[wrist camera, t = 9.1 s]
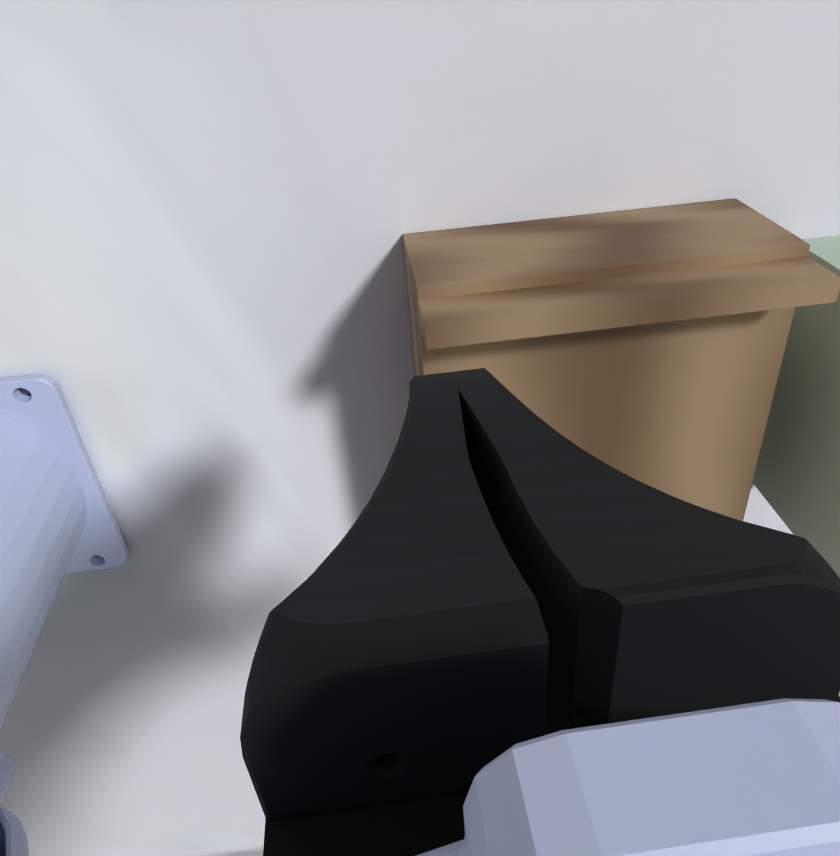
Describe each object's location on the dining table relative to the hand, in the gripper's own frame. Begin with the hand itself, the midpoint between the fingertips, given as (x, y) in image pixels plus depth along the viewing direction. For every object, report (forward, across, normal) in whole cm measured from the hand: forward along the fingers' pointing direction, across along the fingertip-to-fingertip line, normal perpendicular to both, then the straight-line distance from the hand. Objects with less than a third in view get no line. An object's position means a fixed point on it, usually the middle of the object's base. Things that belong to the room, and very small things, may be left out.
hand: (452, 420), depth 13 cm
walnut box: (+10, -5, +6) cm, 13 cm away
